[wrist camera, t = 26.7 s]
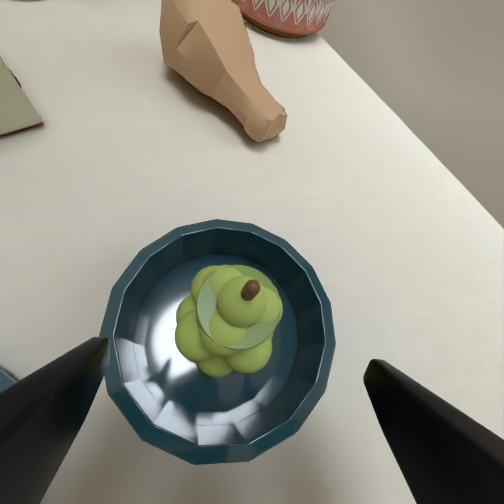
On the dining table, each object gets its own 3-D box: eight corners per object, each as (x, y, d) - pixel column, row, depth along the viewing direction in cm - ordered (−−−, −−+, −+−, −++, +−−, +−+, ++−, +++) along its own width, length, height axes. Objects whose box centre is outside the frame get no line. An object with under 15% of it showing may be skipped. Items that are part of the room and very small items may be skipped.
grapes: (274, 344, 20) (372, 319, 9) (202, 395, 17) (218, 446, 6) (234, 276, 22) (276, 188, 11) (162, 314, 19) (123, 247, 8)
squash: (205, 48, 37) (224, -33, 29) (285, 147, 35) (327, 88, 28) (137, 45, 30) (141, -58, 23) (232, 166, 29) (267, 97, 21)
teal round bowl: (311, 432, 18) (350, 455, 14) (99, 442, 15) (61, 474, 11) (297, 256, 24) (321, 232, 20) (145, 240, 22) (133, 208, 17)
